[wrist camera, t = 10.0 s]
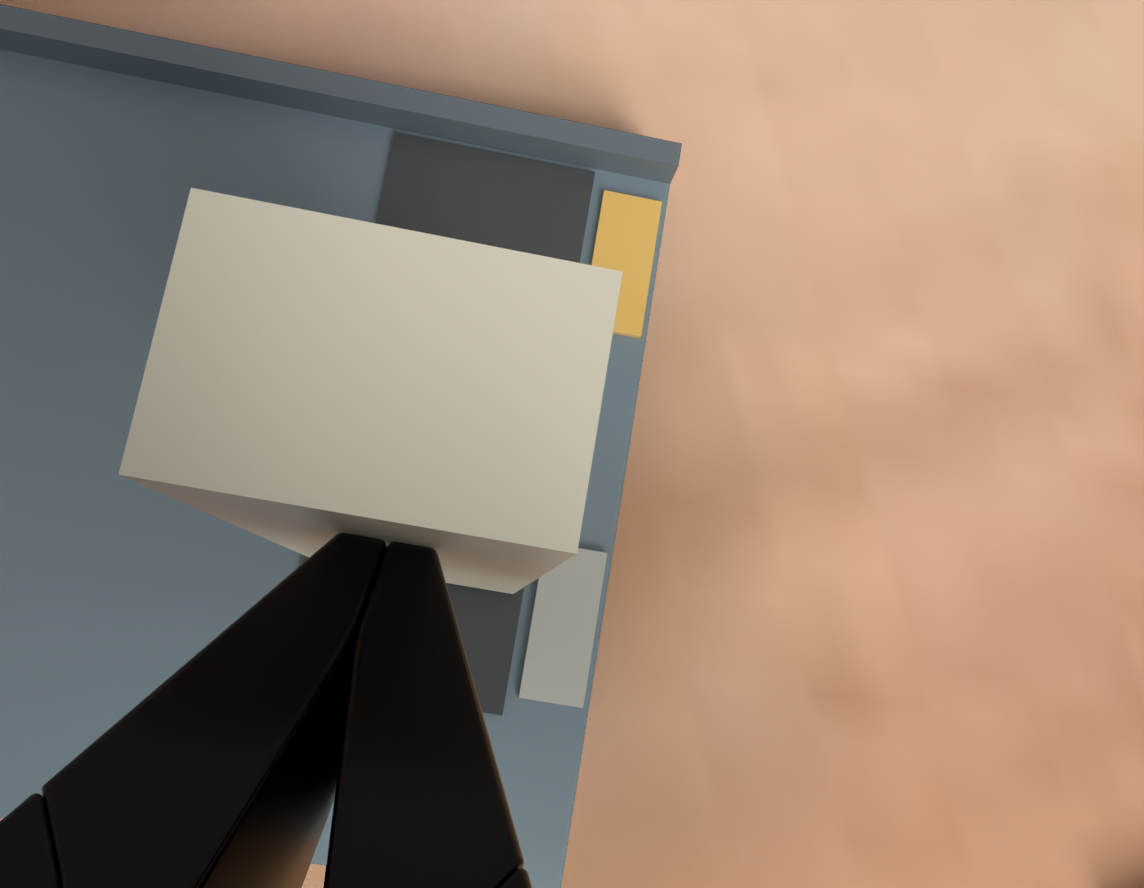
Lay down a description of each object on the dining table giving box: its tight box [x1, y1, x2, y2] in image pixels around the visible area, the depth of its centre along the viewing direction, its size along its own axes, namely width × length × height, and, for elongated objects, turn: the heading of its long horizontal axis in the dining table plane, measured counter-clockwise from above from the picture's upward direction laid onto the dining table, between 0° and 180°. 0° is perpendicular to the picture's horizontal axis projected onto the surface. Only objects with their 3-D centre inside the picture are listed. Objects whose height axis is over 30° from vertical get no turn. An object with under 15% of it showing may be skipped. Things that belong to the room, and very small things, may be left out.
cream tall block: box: [118, 188, 623, 594], centre depth 11 cm, size 2×3×9 cm, turn 80°
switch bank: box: [0, 4, 682, 888], centre depth 16 cm, size 12×18×2 cm, turn 80°
